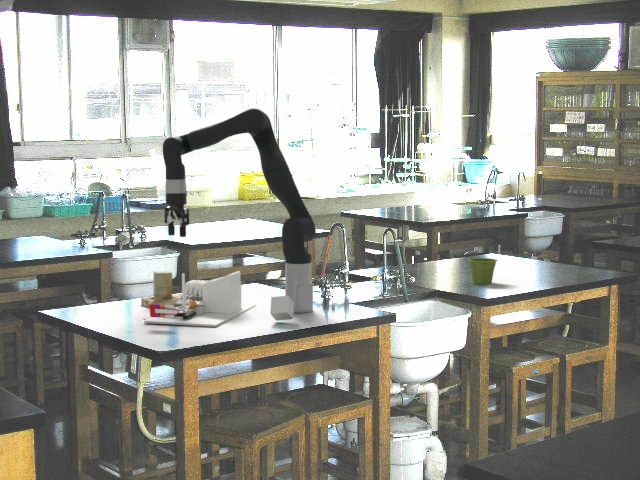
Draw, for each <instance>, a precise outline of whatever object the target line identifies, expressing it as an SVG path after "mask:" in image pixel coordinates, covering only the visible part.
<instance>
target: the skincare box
mask: <svg viewBox="0 0 640 480" xmlns="http://www.w3.org/2000/svg"><path fill="white" fill-rule="evenodd" d="M172 295H173V272H172V271H170V270H169V271H167V270H166V271H165V270H164V271H163V270H162V271H153V296H152V297H153V299H155V300H161V299H170V298H172Z"/></svg>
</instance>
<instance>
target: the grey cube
mask: <svg viewBox="0 0 640 480" xmlns="http://www.w3.org/2000/svg"><path fill="white" fill-rule="evenodd" d="M270 298H271V299H270V313H269V314H270V316H272V318H273V319H274V320H275V322H277V321H288V320H294V312H293V310H294V302H293V301H292V300H291V298H290V297H289V296H285V295H283V296H272V297H270Z"/></svg>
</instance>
